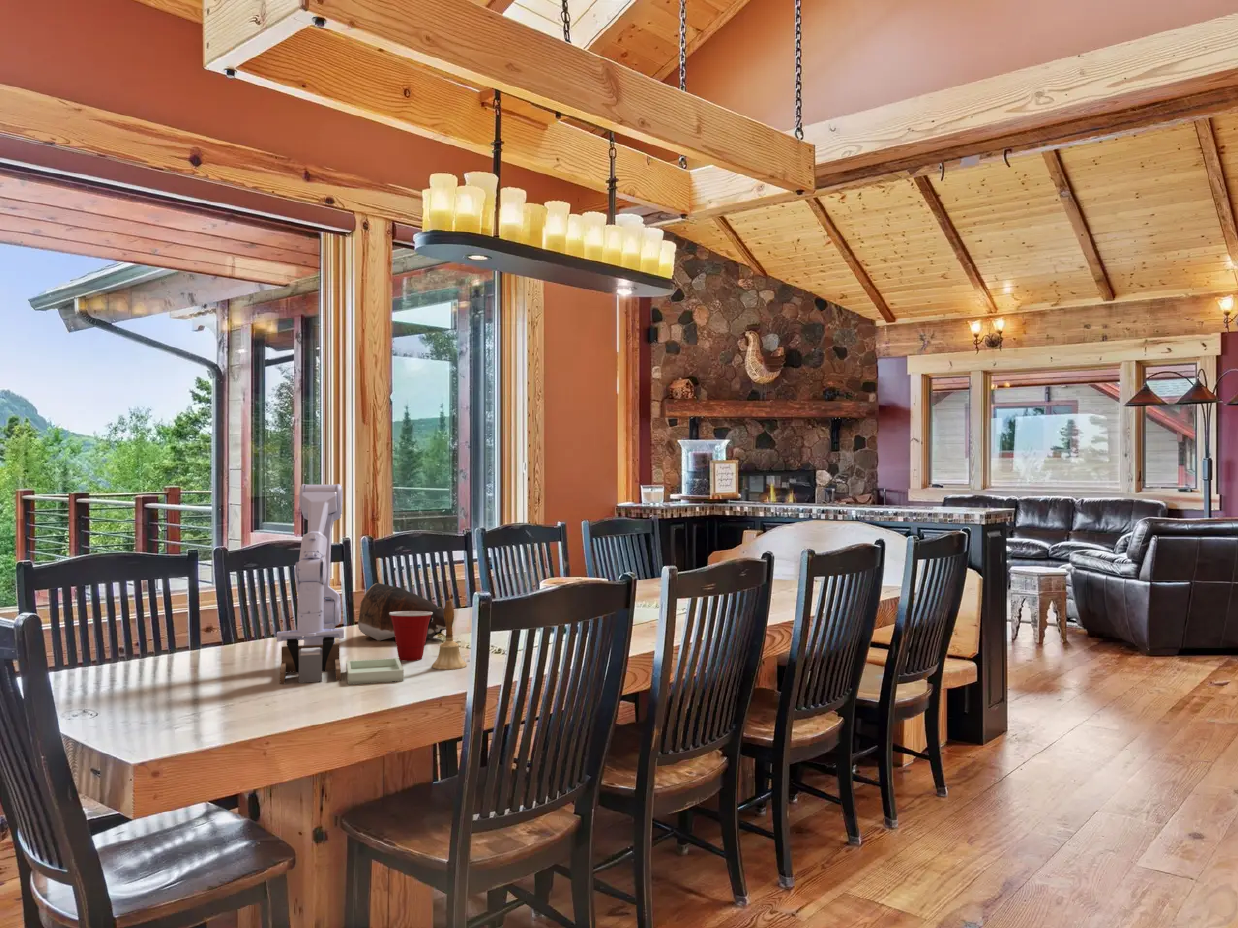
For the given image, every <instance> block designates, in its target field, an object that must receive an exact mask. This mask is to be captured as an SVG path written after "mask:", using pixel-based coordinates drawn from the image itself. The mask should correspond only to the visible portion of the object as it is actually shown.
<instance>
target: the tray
mask: <svg viewBox="0 0 1238 928" xmlns="http://www.w3.org/2000/svg"><path fill="white" fill-rule="evenodd" d="M345 663H346V664H345V665H346V667H345V668H346V671H345V673H346V679H347V684H351V685H362V684H363V683H367V684H378V683H377V682H382V683H391V682H392V681H395V683H397V682H404V675H405V674H404V671H405V670H404V667H403V665H402V663H401V660H400V659H399V657H394V658H392V657H389V658H374V659H359V660H358V659H357V660H346V661H345ZM396 681H397V682H396ZM392 683H393V682H392Z"/></svg>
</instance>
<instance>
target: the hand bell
mask: <svg viewBox="0 0 1238 928" xmlns="http://www.w3.org/2000/svg"><path fill="white" fill-rule="evenodd" d="M443 609H444V621H445V625H446V630H445V641H444V642H442V643H440V646H439V651H438V656H437V658H436V660H435V661H434V662H433V663H432V665H431V667H432V669H435V670H440V671H453V670H461V669H463V668H467V662H465V661H464V660H463V657H462V655H461V651H460V646H459V644H458V642H455V640H454V637H453V636H454V635H453V633H454V632H453V624H454V621H455V609H454V606H453V601H452V600H451V599H450V600H446V601H445V604H444V608H443Z"/></svg>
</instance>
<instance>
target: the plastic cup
mask: <svg viewBox="0 0 1238 928" xmlns="http://www.w3.org/2000/svg"><path fill="white" fill-rule="evenodd" d="M432 614H433V612H427V611H398V612H390V613H389V615H390V616H391V619H392V624H393V628H394V635H395V637H394V640H395V645H396V651H397V658H399V660H400V661H405V662H411V661H420V660H422V658H423V657H424V652H425V651H424V650H425V646H426V640H427V638H426V636H427V630H428V624H429V620H430V617H431V615H432Z"/></svg>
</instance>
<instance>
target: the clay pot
mask: <svg viewBox="0 0 1238 928" xmlns="http://www.w3.org/2000/svg"><path fill="white" fill-rule="evenodd" d="M359 606H360V607H359V614H358V619H357V626H358V627H357V628H358V630H359V631H360V633H361V634H363V635H365V636H368V637H369V638H372V639H374V640H377V641H378V640H380V641H383V640H387V639H391V638H395V635H394V628H393V624H392V619H391V616H390V615H389V613H390V612H398V611H427V612H433V614H432V615H431V617H430V620H429V624H428V630H427V636H426V639H434V637H436V636H437V635H440V634H442V633H443V631H446V625H445V621H444V608H443V607H442V606H438V605H437V604H435V603H433V601H431V600H428V599H426V598H424V597H420V596H419V595H418V594H416V593H414V592H411V591H408V590H406V589H404V588H403V587H400V586H399V587H398V586H393V585H390V584H384V583H382V582H376V583H374V584H373V585H371V586H370V587H369V588H368V589H367V591H366V592H365V594H364V595H363V597H362V600H361V602H360V605H359Z"/></svg>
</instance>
